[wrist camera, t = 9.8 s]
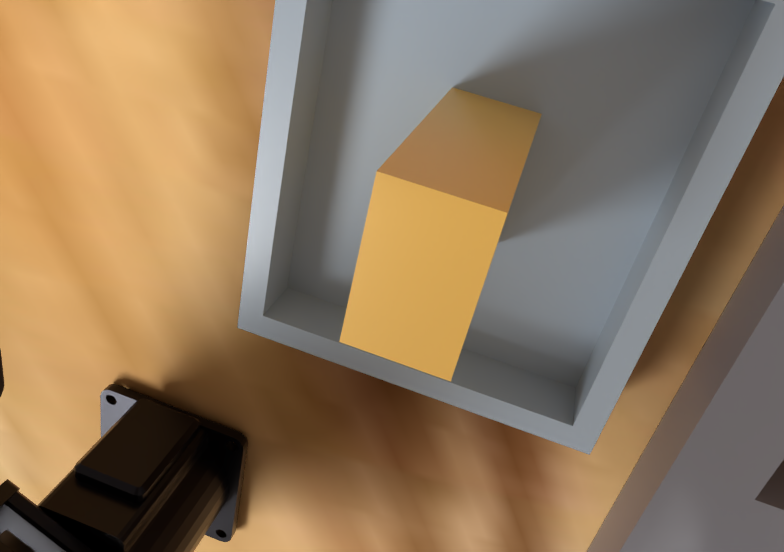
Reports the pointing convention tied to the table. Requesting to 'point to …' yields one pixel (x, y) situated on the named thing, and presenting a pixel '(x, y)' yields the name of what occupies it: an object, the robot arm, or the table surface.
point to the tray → (536, 185)
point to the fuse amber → (436, 231)
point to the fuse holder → (718, 436)
